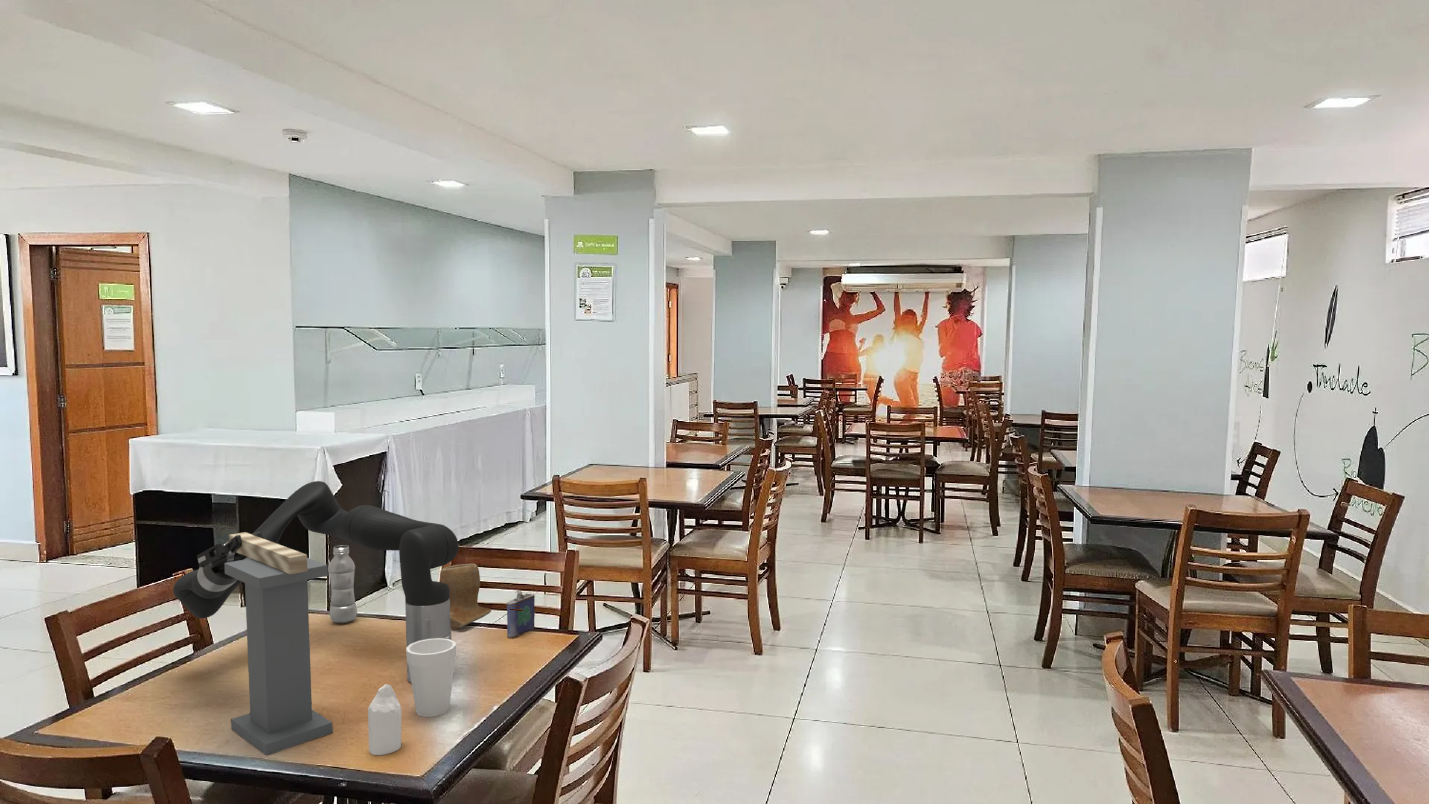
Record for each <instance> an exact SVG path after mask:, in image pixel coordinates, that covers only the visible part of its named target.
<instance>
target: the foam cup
mask: <svg viewBox="0 0 1429 804" xmlns="http://www.w3.org/2000/svg"><path fill="white" fill-rule="evenodd" d="M405 652H406V653H405V654H406V657H405V658H406V664H407V663H408V665H409V671H410V677H411V689H412V695H413V700H414V707H415V711H416V714H417V715H418V716H419V717H426V718H431V717H437V716H441V715H443V714H445V713H447V712H448V711H449V710H450V706H451V697H452V690H453V689H452V688H453V680H454V671H455V663H456V657H457V642H456V641H454V640H450V639H443V638H435V639H426V640H421V641H417V642H415V643H412V644H410V645H409V646H408V647H406V648H405Z"/></svg>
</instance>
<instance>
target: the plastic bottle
mask: <svg viewBox="0 0 1429 804" xmlns="http://www.w3.org/2000/svg"><path fill="white" fill-rule="evenodd" d="M332 554H333V558H332V559H331V560H330V562H329V564H328V565H327V573H328V576H329V582H330V592H331V596H330V598H331V599H330V608H329V617H330V620H331V621H332V622H333V623H335V624H346V623H349V622H350V623H351V622H353V621H354V620H356V618H357V614H358V613H357V612H358V609H357V603H356V599H355V592H354V590H355V589H354V587H355V586H354V584H355V582H354V581H355V570H356V565H355V562H354V560H353V559H352V558H351V557H350V556H349V554H350V547H349V545H347V544H345V545H343V544H342V545H335V546H333V552H332Z"/></svg>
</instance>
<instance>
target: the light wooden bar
mask: <svg viewBox="0 0 1429 804" xmlns="http://www.w3.org/2000/svg"><path fill="white" fill-rule="evenodd" d="M228 535H229V536H228V539H229V540H228V541H230V540H231V539H232V538H234V537H235V536H236V535H241V541H242V546H241V547H240V548H239V549H238V550H237V551H236V552H237V553H239V554H242V555H244V556H247V557H249V558H251V559H254V560H256V561H259V562H261V563H264V564H266V565H269V566H271V567H273V568H276V569H278V570H281V571H283V572H286V573H288V574H295V573H300V572H305V571H307V558H308V554H307V553H303V552H301V551H299V550H295V549H292V548H289V547H287V546H284V545H281V544H280V543H277V544H276V543H274V542H271V541H268V540H265V539H263V538H260V537H257V536H254V535H252V533H249V532H246V531H244V532H239V533H231V534H228Z"/></svg>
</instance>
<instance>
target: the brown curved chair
mask: <svg viewBox="0 0 1429 804" xmlns="http://www.w3.org/2000/svg"><path fill="white" fill-rule="evenodd" d="M440 582H442V583H445V584H447V585H448V586H449V590H450V628H451V630H458V629H460V628H463V627H465V626H467V625H469V624H473V623H475V622H476V621H478V620H481V619H482V618H484V617H486V616H487V615H489V614H490V613H491V612H492V609H491V608H488V607H483V606H481V605H479V603H478V602H479V600H478V599H479V592H480V587H481V575H480V570H479V566H478V565H477V564H475V563H462V564H455V565H449V566H446V567H443V568H442V569H441V571H440Z"/></svg>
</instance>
